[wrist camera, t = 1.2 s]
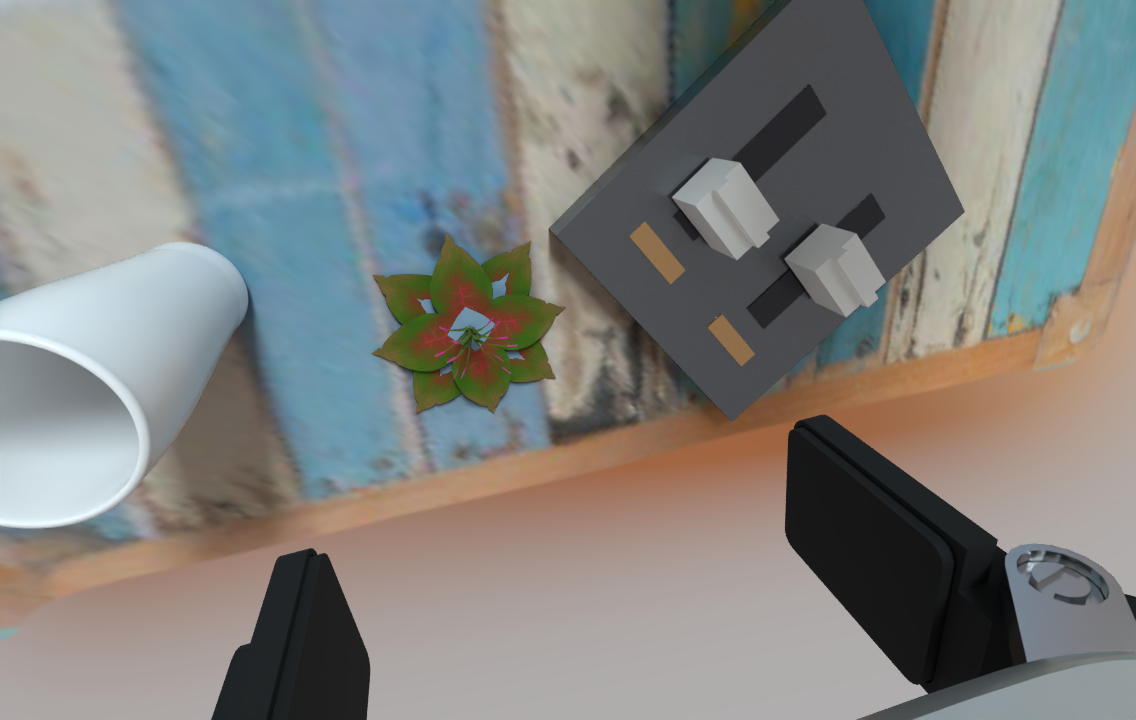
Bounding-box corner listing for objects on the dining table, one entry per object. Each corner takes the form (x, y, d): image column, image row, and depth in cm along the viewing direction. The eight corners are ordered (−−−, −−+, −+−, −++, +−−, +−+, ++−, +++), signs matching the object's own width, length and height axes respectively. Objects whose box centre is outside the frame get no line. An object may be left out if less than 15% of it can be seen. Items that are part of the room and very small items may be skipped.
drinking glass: (227, 207, 29) (62, 295, 15) (289, 327, 32) (196, 488, 18) (87, 247, 28) (-213, 376, 15) (164, 366, 31) (-27, 563, 18)
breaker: (712, 157, 31) (746, 163, 28) (750, 211, 33) (786, 222, 30) (671, 197, 32) (700, 207, 28) (711, 247, 33) (742, 263, 30)
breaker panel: (815, -39, 31) (841, -48, 29) (939, 207, 39) (966, 212, 37) (548, 228, 33) (556, 235, 31) (718, 408, 41) (732, 422, 39)
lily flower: (337, 251, 31) (324, 272, 27) (549, 207, 33) (568, 222, 29) (398, 434, 36) (396, 475, 32) (579, 388, 38) (598, 422, 34)
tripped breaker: (822, 223, 34) (863, 235, 31) (851, 269, 36) (893, 284, 33) (784, 259, 35) (821, 274, 32) (814, 302, 36) (853, 321, 33)
